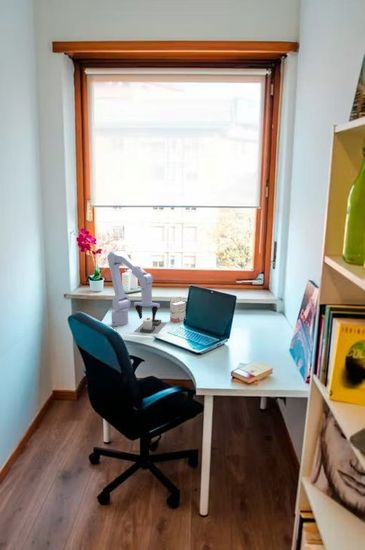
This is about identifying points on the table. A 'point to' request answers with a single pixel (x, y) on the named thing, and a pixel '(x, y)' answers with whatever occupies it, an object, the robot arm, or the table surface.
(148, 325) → the plug
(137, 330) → the panel
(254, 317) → the table surface
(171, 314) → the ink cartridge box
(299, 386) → the table surface
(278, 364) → the table surface
